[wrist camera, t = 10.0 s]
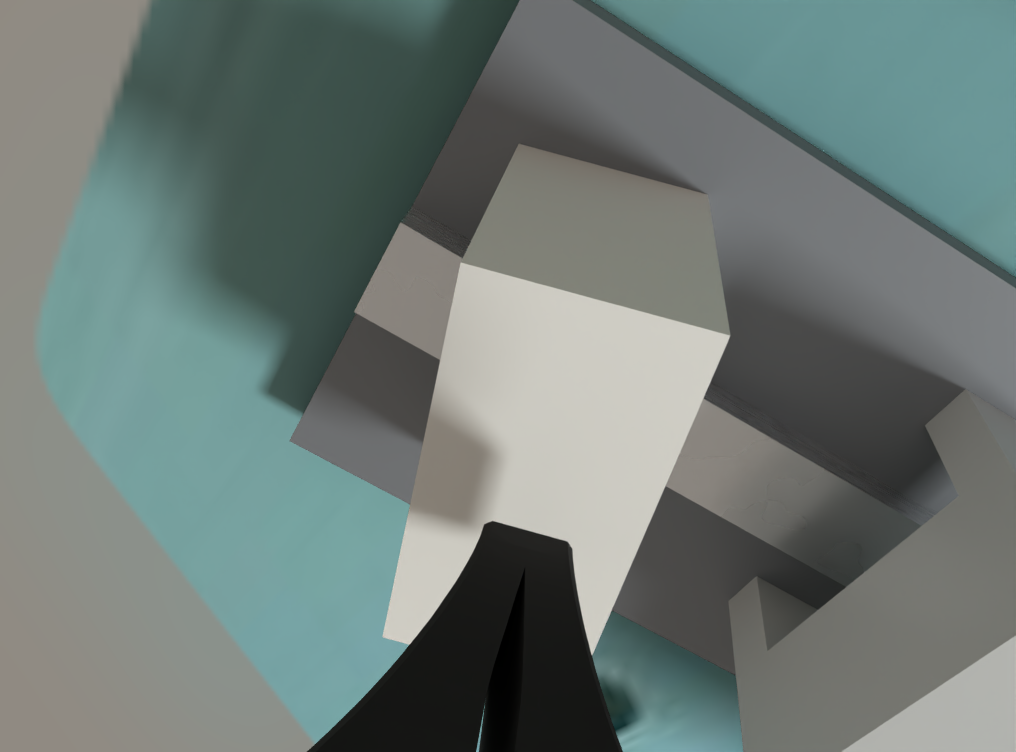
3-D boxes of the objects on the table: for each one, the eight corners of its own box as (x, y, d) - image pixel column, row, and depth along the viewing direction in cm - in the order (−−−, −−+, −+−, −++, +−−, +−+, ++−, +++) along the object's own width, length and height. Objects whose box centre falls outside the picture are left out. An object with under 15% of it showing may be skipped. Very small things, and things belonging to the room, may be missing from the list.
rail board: (1181, 386, 19) (1435, 636, 13) (798, 678, 25) (843, 931, 19) (540, -32, 16) (472, 28, 10) (305, 415, 23) (180, 612, 17)
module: (707, 194, 17) (730, 335, 12) (589, 512, 22) (569, 708, 17) (518, 143, 17) (460, 262, 12) (442, 472, 22) (378, 656, 17)
